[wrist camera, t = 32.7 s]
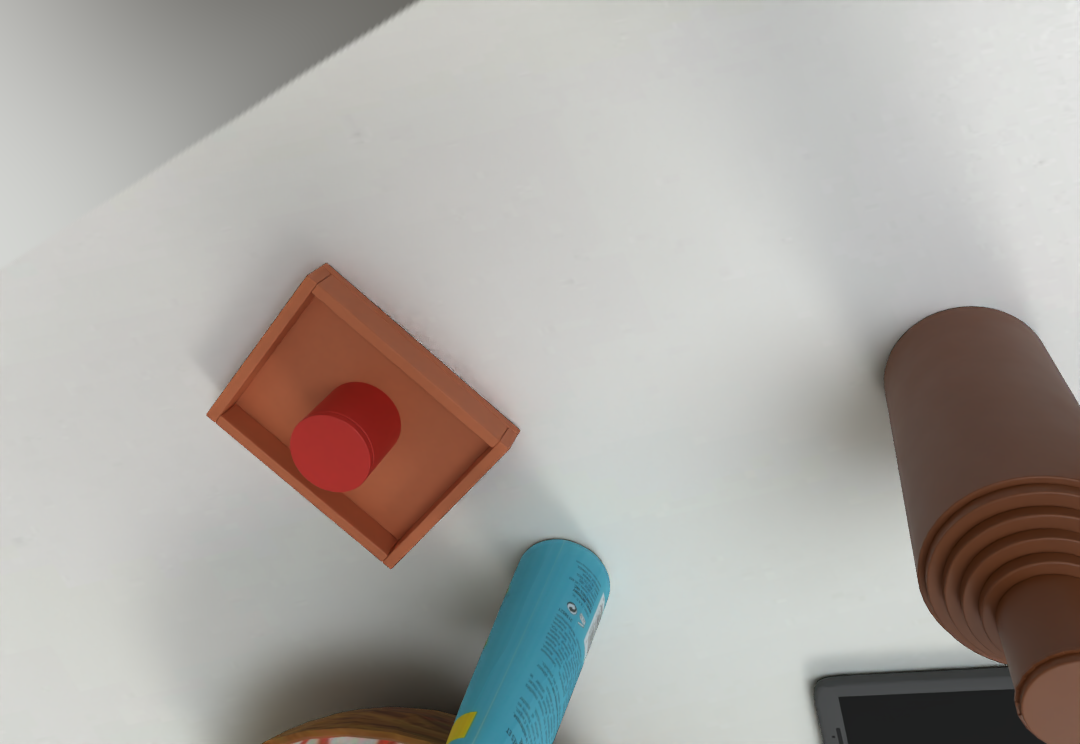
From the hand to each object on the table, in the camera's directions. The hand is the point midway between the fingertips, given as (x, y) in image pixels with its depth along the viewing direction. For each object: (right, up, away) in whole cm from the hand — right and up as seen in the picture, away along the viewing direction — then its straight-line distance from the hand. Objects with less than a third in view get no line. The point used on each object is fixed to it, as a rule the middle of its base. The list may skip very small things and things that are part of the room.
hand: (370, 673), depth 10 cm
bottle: (+19, +3, +30) cm, 36 cm away
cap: (-7, +1, +38) cm, 38 cm away
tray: (-7, +1, +38) cm, 39 cm away
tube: (+3, -7, +39) cm, 40 cm away
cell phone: (+23, -14, +37) cm, 45 cm away
